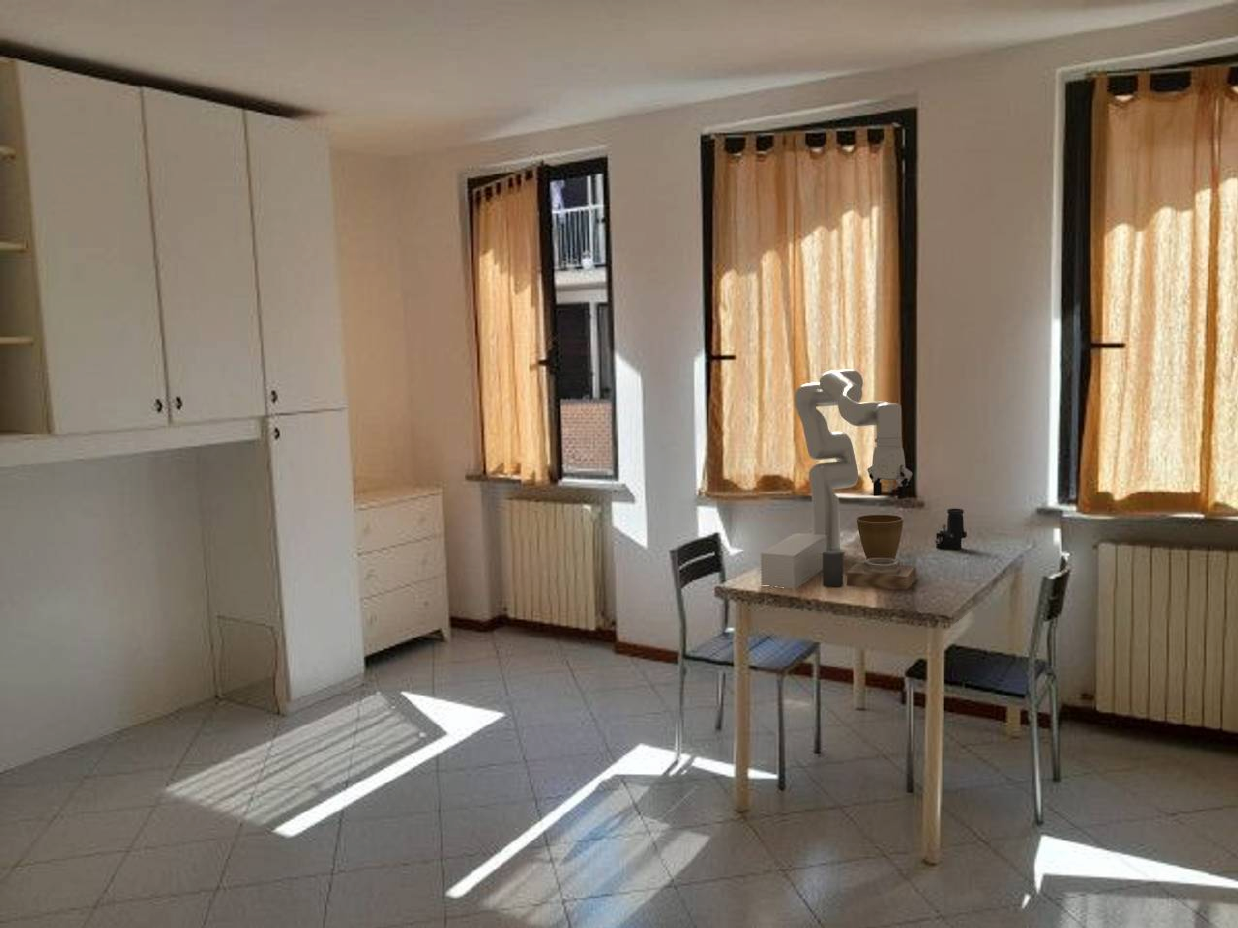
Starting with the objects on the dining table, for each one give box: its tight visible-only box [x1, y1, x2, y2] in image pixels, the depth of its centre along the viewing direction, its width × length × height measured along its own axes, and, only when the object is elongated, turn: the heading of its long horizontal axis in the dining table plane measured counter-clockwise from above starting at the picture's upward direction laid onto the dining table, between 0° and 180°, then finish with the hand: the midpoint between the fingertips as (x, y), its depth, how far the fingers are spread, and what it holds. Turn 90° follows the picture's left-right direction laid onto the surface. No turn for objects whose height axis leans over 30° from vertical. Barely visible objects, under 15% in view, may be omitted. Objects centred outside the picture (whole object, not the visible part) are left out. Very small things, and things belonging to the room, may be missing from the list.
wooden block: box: [846, 557, 917, 591], centre depth 298 cm, size 18×14×6 cm
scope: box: [934, 508, 968, 551], centre depth 339 cm, size 8×14×10 cm
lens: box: [822, 551, 844, 588], centre depth 297 cm, size 6×6×10 cm
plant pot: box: [856, 514, 904, 560], centre depth 319 cm, size 15×15×16 cm
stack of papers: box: [760, 532, 826, 590], centre depth 310 cm, size 32×11×11 cm, turn 151°
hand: (889, 496), depth 305 cm, fingers open, 9 cm apart
